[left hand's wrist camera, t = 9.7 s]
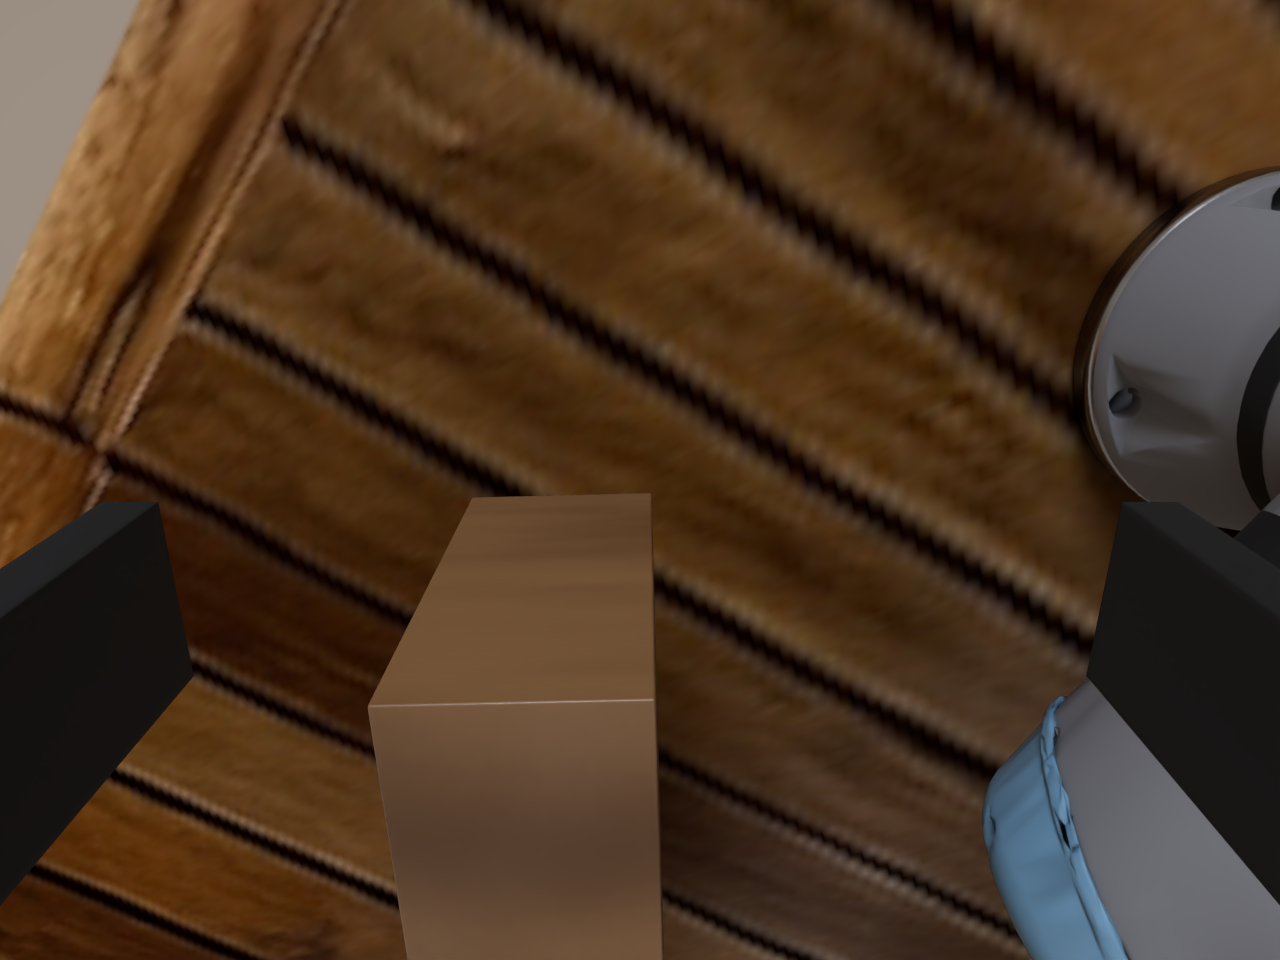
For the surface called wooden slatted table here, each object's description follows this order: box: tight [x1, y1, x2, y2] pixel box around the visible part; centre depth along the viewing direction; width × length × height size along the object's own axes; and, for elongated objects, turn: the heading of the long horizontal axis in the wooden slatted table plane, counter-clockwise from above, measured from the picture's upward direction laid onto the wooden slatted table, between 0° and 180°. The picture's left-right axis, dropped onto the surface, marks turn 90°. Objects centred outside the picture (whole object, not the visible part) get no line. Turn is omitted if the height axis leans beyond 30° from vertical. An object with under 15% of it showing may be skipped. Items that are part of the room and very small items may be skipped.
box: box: [368, 493, 664, 960], centre depth 28 cm, size 20×6×12 cm, turn 2°
